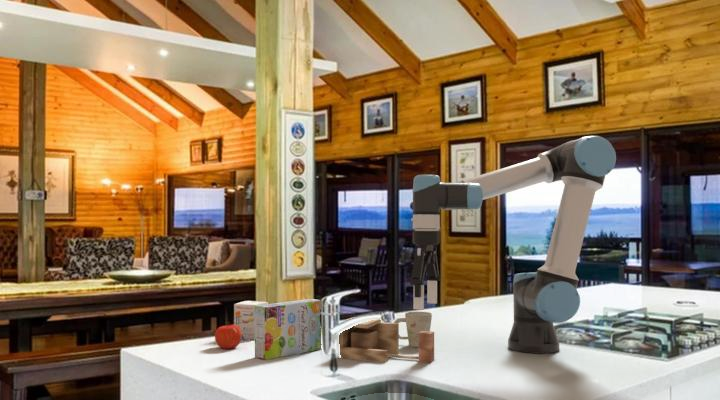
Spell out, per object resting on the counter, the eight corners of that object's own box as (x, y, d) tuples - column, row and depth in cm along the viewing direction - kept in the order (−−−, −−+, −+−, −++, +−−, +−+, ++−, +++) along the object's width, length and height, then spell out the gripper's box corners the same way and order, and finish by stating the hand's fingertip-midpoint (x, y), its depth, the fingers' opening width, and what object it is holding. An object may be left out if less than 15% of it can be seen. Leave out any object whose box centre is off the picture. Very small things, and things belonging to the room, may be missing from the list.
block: (435, 359, 181) (435, 330, 181) (429, 363, 176) (429, 334, 176) (358, 353, 190) (358, 325, 190) (351, 357, 184) (351, 329, 184)
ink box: (232, 338, 213) (233, 303, 213) (246, 334, 221) (246, 300, 221) (255, 340, 210) (255, 304, 210) (268, 336, 217) (268, 301, 218)
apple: (246, 347, 198) (247, 321, 198) (224, 351, 192) (225, 324, 192) (231, 344, 203) (231, 318, 203) (209, 348, 197) (209, 321, 197)
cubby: (398, 354, 188) (398, 320, 188) (386, 362, 178) (386, 325, 178) (352, 350, 193) (352, 317, 194) (338, 357, 183) (338, 322, 183)
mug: (430, 348, 196) (430, 315, 196) (389, 347, 199) (389, 314, 199) (433, 343, 204) (433, 311, 205) (393, 342, 207) (393, 310, 207)
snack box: (310, 347, 199) (310, 298, 199) (322, 349, 195) (322, 299, 195) (253, 357, 184) (253, 304, 184) (265, 360, 180) (265, 306, 180)
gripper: (425, 229, 193) (425, 300, 192) (399, 230, 170) (398, 311, 169) (450, 229, 190) (449, 301, 190) (426, 230, 167) (426, 312, 166)
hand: (425, 306), depth 179 cm, fingers open, 13 cm apart
